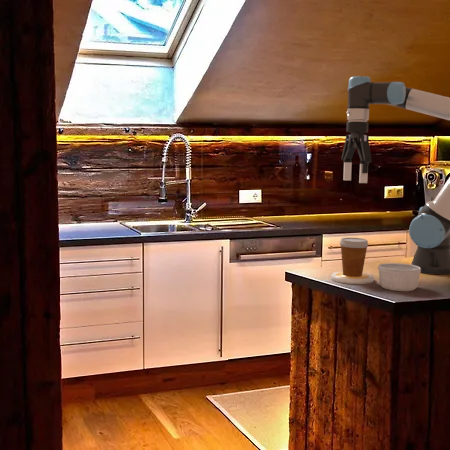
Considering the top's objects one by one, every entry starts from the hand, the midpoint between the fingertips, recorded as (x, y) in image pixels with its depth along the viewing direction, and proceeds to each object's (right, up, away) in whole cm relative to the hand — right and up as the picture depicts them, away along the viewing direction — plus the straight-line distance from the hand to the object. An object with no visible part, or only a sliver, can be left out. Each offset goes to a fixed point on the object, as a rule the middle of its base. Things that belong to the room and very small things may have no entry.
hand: (354, 181), depth 248 cm
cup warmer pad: (-4, -34, -15) cm, 37 cm away
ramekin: (+9, -36, -25) cm, 45 cm away
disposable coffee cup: (-4, -32, -15) cm, 36 cm away
